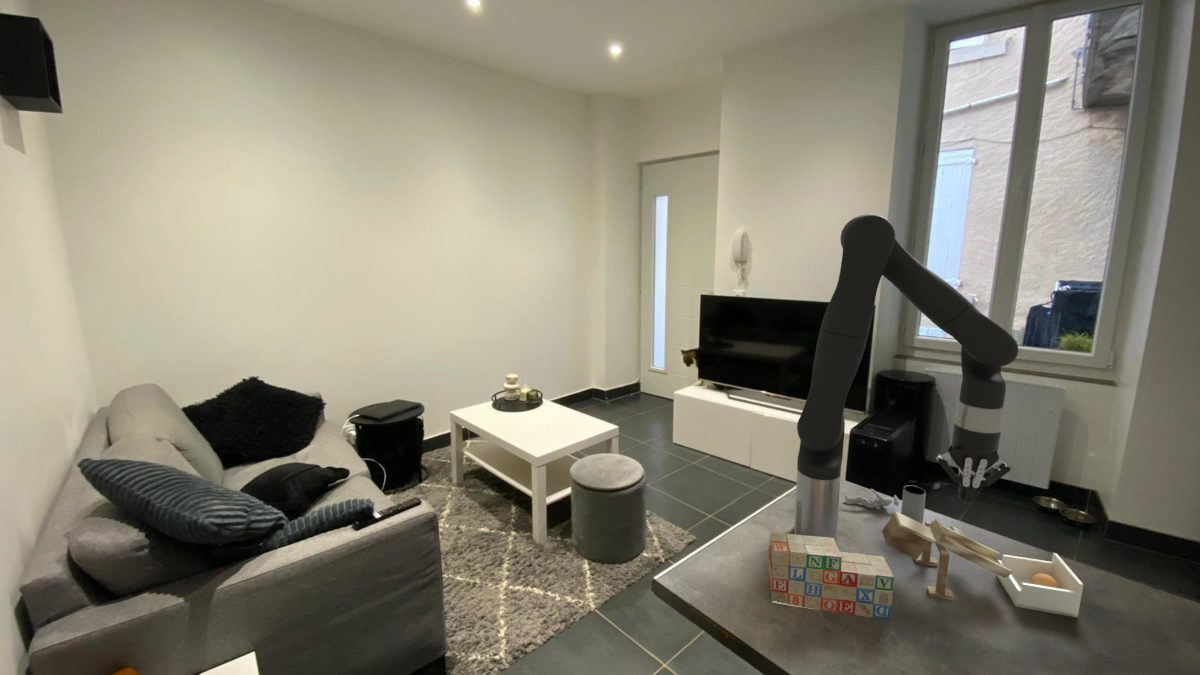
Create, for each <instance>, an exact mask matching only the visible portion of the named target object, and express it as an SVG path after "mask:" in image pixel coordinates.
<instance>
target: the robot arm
mask: <svg viewBox="0 0 1200 675" xmlns="http://www.w3.org/2000/svg"><path fill="white" fill-rule="evenodd" d="M839 240H840V245H841V247H842V256H841V263H840V270H839V275H838V280H837V284H836V288H835V289H834V292H833V294H832V296H831V298H830V300H829V303H828V305H827V307H826V310H825V311H824V312H825V313H824V315H823V318H822V322H821V325H820V328H819V332H818V333H819V334H818V337H817V342H816V348H815V352H814V353H815V354H814V360H813V364H812V365H813V366H812V372H811V381H810V388H809V392H808V395H807V398H806V400H805V403H804V406H803V409H802V411H801V414H800V416H799V418H798V421H797V423H796V424H797V425H796V430H797V435H798V438H799V440H800V443H799V444H800V445H799V450H798V454H797V464H796V466H797V467H796V491H795V496H794V520H793V529H794V532H793V534H795V535H807V536H816V537H829V538H834V539H835V542H836V543H837V535H838V523H839V522H838V520H839V507H840V506H839V505H840V502H839V501H840V490H841V472H842V464H843V463H842V462H843V457H844V456H843V454H844V443H845V441H844V440H845V429H846V424H845V423H846V421H845V416H844V412H845V405H846V401H847V397H848V393H849V391H850V388H851V386H852V383H853V381H854V380H855V377H856V375H857V372H858V370H859V367H860V364H861V363H862V359H863V356H864V352H865V349H866V345H867V342H868V338H869V336H870V335H869V334H870V329H871V324H872V319H873V314H874V311H875V310H874V309H875V304H876V297H877V292H878V287H879V284H880V282H881V279H882V277H884V278H885V279H887V281H889V282H890V283H891V284H892V285H893V287H896V289H897V290H899V292H900V293H902V295H903V296H905V298H907V300H908V301H910V303H911V304H912V305H913V306H915V308H916V309H918V310H919V312H920V313H922V314H923V315H924V316H925V317H926V318H928V319H929V321H931V322H932V323H933V324H934V325H936V326H937V328H939V329H941V330H942V331H943V332H944V333H946V334H948V335H949V336H951V337H952V338H953V339H955V341H957V343H959V344H960V345H961V349H960V360H961V375H962V380H961V385H960V391H959V399H958V404H957V407H956V410H955V415H954V417H953V419H954V424H953V429H952V440H951V445H950V446H949V447H948V449H947V452H945V453H942V454H941V453H940V454H939V453H938V454H936V455H934V457H935V459H936V461H937V462H938V464H939V465H940V466H941V467H942V469H943V470H944V471H945V473H947V475H948V477H950V479H951V480H952V482H954V483H955V484H958V489H957V496H958V497H959V499H960V500H961V501H962V503H965V504H973V502H976V500H977V495H978V488H979V487H983V486H984V487H986V488H988V487H990V486H991V485H993V484H994V483H995V482H997V481H999V479H1001V478H1003V477H1004V476H1005V475H1007V474H1008V473H1010V472H1011V470H1012V469H1011V467H1010V466H1009V465H1008V464H1007V463H1006V462H1005V461H1003V460H1001V459H1000V455H999V453H998V450H999V445H1000V439H1001V432H1002V427H1003V420H1004V419H1003V418H1004V402H1005V396H1006V391H1007V386H1006V385H1007V384H1006V381H1005V379H1004V378H1003V375H1002V373H1001V372H1002V370H1001V369H1002V367H1006V366H1008V365H1010V364H1012V363H1013V362H1014V361H1015V360H1016V358H1017V357H1018V354H1019V345H1018V342H1017V340H1016V339H1015V338H1014V337H1013V335H1011V334H1010V333H1009V332H1008V331H1007V330H1006V329H1004V327H1001V326H1000V324H997V323H996V322H995V321H993V320H992V319H991V318H989V317H988V316H986V315H985V314H983V313H982V312H980V310H979V309H977V308H976V306H975V305H974V304H972V302H971V301H970V300H968V299H967V298H966V297H965V296H964V295H962V293H961V292H959V291H958V290H957V289H956V288H954V286H952V285H951V284H950V283H948V282H947V281H945V280H944V279H943V278H941V276H939V275H938V274H936V273H934V272H933V271H932V270H930V269H929V268H928V267H927V266H925V265H924V264H923V263H921V262H920V261H919V260H918V259H916V258H915V257H914V256H913V255H912V254H910V253H909V252H908V251H907V250H906V249H905V248H904V247H903V246H902V245H901V243H900V242H899V241H898V240H897V239H896V231H895V227H894V225H893V224H892V223H891V221H890V220H889V219H887V218H886V217H884V216H882V215H878V214H862V215H858V216H856V217H853V218H852V219H850V220H849V221H847V222H846V224H845V225H844V227H843V228H842V230H841V233H840V239H839ZM951 459H952V461H954V463H955V465H957V467H958V474H957V473H955V471H954V470H953V469H952V466H950V465H952V461H951Z"/></svg>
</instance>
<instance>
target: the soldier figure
mask: <svg viewBox="0 0 1200 675" xmlns="http://www.w3.org/2000/svg"><path fill="white" fill-rule="evenodd" d="M870 491H871V492H872V493H874V494H875V496H876V497H875V498H874V497H872V496H870V497H869V499H867V498H865V497H864V496H862V495H858V496H856V497H849V496H848V495H847V494H844V499H845V502H846V504H847V505H851V504H852V505H853V504H860V505H862V506H864V507H866V508H868V509H873V510H874V509H876V508H878V507H888V506H890V505H891V504H892V503H893V505H894V506H896V507H898V506H899V504H900V499H899V497H898V496H897V495H896V494H894V496H893V499H891V498H889V497H885V496H884V497H882V496H881V495H880V494H879V493H878V492H877V491H875V489H873V488H870Z"/></svg>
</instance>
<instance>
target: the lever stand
mask: <svg viewBox="0 0 1200 675" xmlns="http://www.w3.org/2000/svg"><path fill="white" fill-rule="evenodd" d="M932 521H933V520H925V522H924V525H925V526H927V527H928V526H929V525H930V524H931V523H932ZM932 544H933V543H932V542H929V543H928V545H927V546H926V547H925V549H924V550H923V552H922V553H921V554H920V556H919V557H918V558H917V560H916V559H914V561H915V563H916V564H919V565H927V566H933V567H937V575H936V576H937V577H936V582H935V586H931V585H930V586H929V585H926V591H927V593H928V595H929V597H932V598H938V599H942V600H947V601H954V599H955V596H954V594H953V592H952V590H951V589H946V587H947V580H948V579H947V578H948V571H949V570H948V569H949V561H950V553H949V551H948V550H946V549H945V550H946V551H945V550H940V552H939V557H938V558H939V559H938V560H937V559H936V558H937V557H935V556H931V554H932V552H931V551H932Z"/></svg>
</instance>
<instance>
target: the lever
mask: <svg viewBox="0 0 1200 675" xmlns="http://www.w3.org/2000/svg"><path fill="white" fill-rule="evenodd" d="M931 521H932V523H931V524H930V525H929V526H928V527H927V526H925V524H924V523H923V524H921V523H919V522H917V521H915V520H913V519H911V518H909V517H907V516H905V515H903V514H901V512H899V511H897V510H895V511H894V513H893V514H892V515H891V517H890V519H889V520H888V521H887V523H886V524H885V526H884V527H883V529H882V530H881V532H882V535H883V538H884V541H885V543H886V546H889V547H890V548H893V549H894V550H896V551H898V552H900V553H902V554H903V555H906V556H907V557H911V558H912V559H914V560H915V559H916V560H917V558H918V557H919V556H920V555H922V552H923V550H924V549H925V547H926V546H927V545H928V543H929V542H932V544H935V546H936V548H937V550H938V552H939V553H940V550H945V551H948V552H951V553H952V554H954V555H957V556H958V557H961V558H963V559H965V560H967V561H969V562H971V563H974V564H975V565H978V566H979V567H981V568H983V569H986V570H987V571H990V572H992V573H994V574H995V575H996V574H997V575H999V576H1001V577H1004V578H1005V577H1009V576H1010V574H1011V573H1012V570H1010V569H1008V568H1006V567H1004V566H1002V565H999V563H998V560H997V559H998V558H999V557H1000V555H1001V553H1000V552H999V551H997V550H995V549H993V548H991V547H989V546H986V545H984V544H982V543H980V542H977V541H976V540H974V539H972V538H970V535H969V534H968V532H966V531H964V530H963V529H960V528H958V527H955V526H953V525H951V526H950V528H949V527H946V526H944V525H942V523H941V521H940V520H939V519H938V518H935V519H934V520H931ZM997 575H996V576H997Z"/></svg>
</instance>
